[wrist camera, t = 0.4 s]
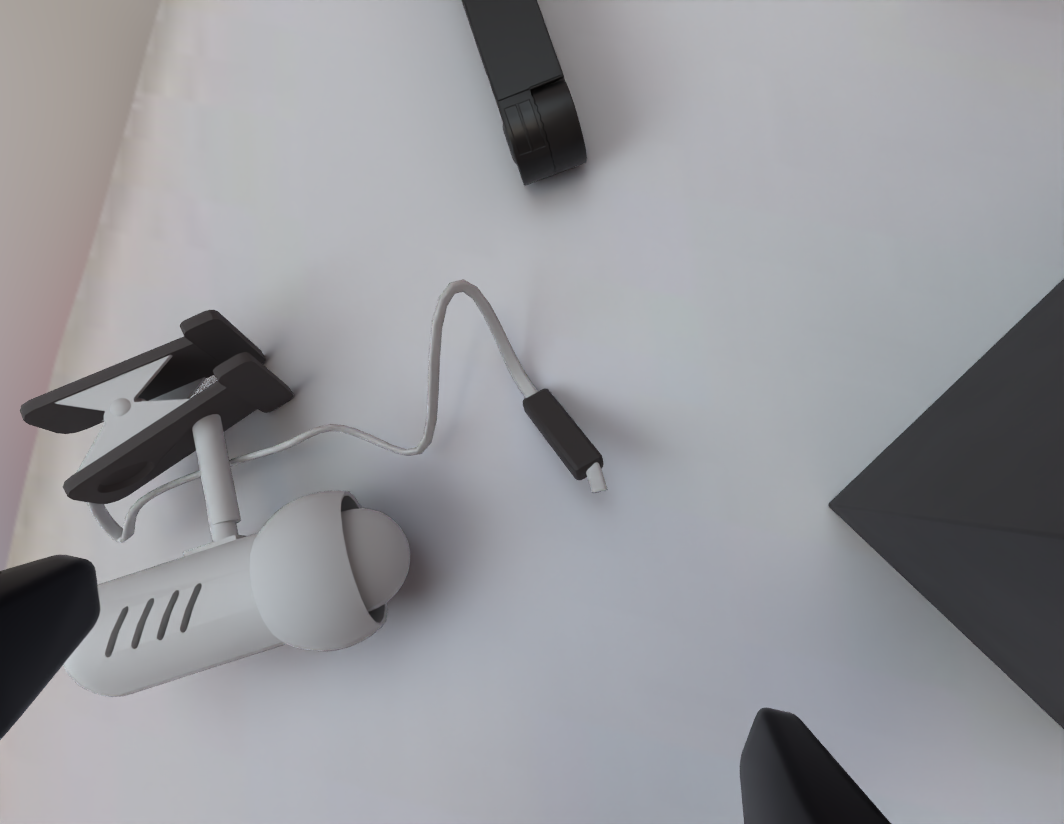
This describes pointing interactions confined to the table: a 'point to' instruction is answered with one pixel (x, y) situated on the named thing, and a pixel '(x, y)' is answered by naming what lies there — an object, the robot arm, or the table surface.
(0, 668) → the robot arm
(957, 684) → the table surface
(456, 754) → the table surface
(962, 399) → the speaker
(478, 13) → the tablet stand
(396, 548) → the clip-on lamp
